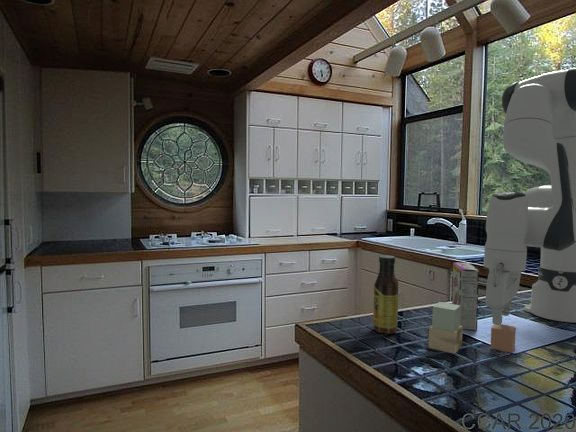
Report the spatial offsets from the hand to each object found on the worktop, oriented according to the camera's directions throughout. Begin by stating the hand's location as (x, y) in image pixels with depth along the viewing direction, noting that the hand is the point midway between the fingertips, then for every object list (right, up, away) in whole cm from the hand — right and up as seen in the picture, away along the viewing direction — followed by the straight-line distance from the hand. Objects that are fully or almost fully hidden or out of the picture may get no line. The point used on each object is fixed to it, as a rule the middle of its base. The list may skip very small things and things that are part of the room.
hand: (501, 319), depth 100 cm
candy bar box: (-1, -6, +18) cm, 19 cm away
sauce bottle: (-25, -6, +11) cm, 28 cm away
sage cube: (-13, -2, 0) cm, 13 cm away
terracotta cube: (+1, -7, +1) cm, 7 cm away
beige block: (-13, -7, +1) cm, 15 cm away
